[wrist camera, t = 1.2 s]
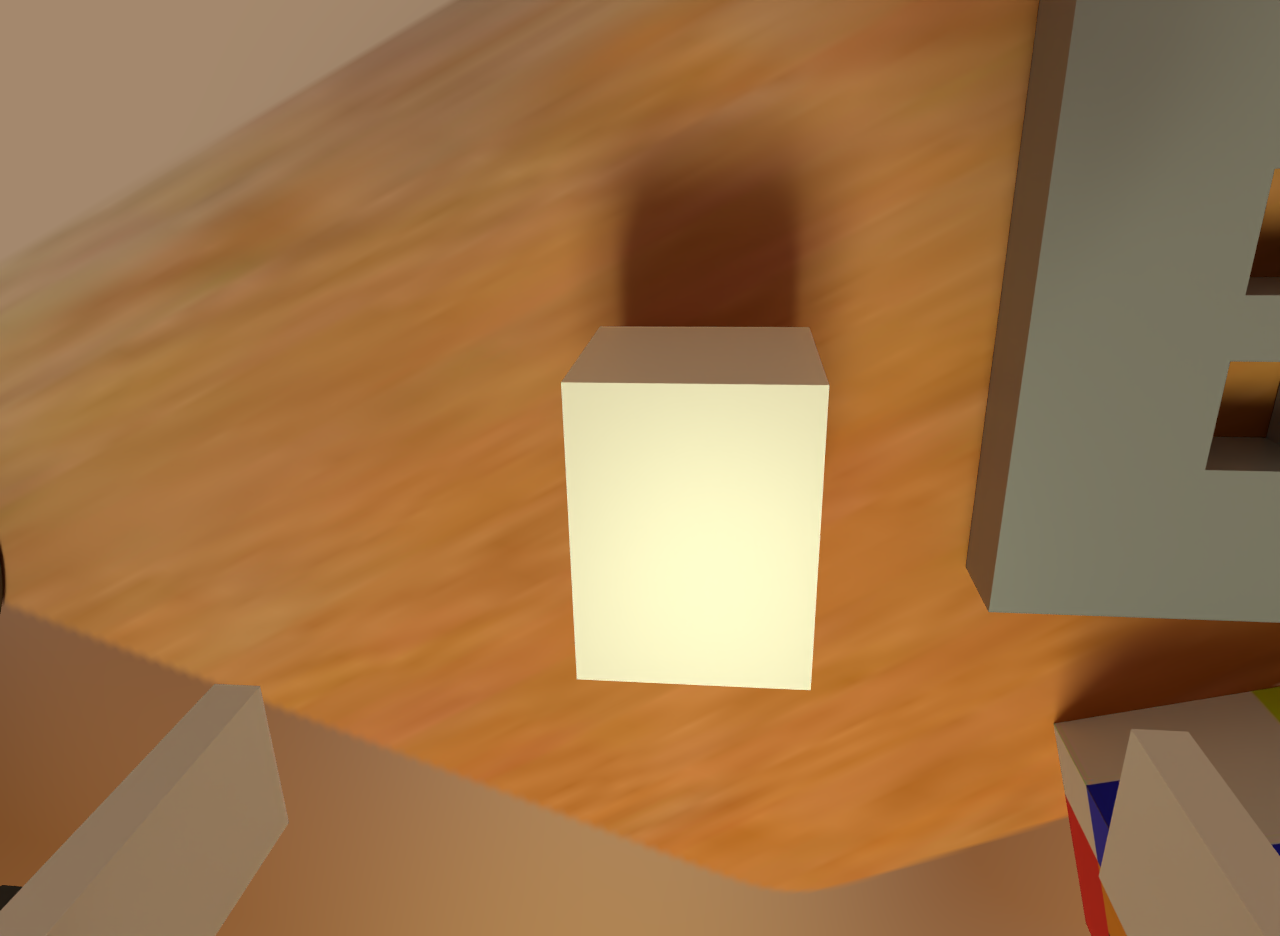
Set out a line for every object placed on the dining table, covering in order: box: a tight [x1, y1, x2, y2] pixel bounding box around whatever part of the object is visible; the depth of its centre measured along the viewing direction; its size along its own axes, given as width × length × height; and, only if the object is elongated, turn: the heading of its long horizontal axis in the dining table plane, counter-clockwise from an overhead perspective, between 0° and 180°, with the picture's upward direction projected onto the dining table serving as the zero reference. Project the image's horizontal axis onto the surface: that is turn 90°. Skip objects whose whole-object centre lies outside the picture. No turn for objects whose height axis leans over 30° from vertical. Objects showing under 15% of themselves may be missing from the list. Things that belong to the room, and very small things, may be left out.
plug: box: [561, 326, 829, 690], centre depth 25 cm, size 6×8×9 cm
